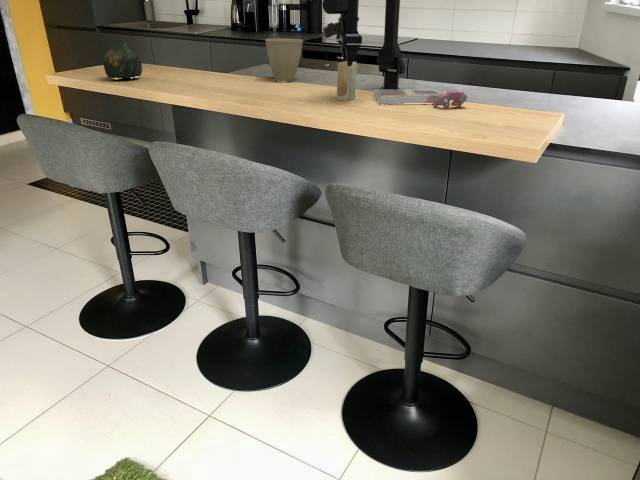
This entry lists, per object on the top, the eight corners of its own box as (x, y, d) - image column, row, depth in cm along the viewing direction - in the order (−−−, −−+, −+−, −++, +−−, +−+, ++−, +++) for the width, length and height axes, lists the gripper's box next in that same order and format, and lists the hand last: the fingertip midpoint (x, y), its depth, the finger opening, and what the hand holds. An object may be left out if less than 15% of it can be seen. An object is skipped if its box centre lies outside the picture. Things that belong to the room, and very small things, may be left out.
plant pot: (301, 84, 205) (301, 41, 198) (264, 83, 205) (263, 40, 198) (303, 78, 218) (303, 38, 211) (268, 77, 219) (267, 37, 212)
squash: (89, 66, 202) (106, 36, 195) (113, 63, 216) (131, 35, 209) (115, 92, 204) (133, 64, 196) (138, 88, 217) (156, 61, 210)
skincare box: (344, 97, 180) (346, 60, 175) (355, 98, 178) (357, 61, 173) (335, 100, 175) (336, 62, 170) (347, 101, 173) (348, 63, 168)
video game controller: (436, 113, 165) (443, 95, 160) (431, 104, 168) (437, 86, 162) (463, 112, 168) (471, 94, 162) (458, 103, 170) (465, 85, 165)
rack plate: (373, 98, 179) (374, 88, 178) (434, 98, 181) (435, 88, 180) (380, 104, 169) (380, 94, 167) (445, 104, 171) (446, 94, 169)
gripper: (321, 12, 173) (320, 61, 179) (327, 14, 156) (326, 68, 163) (354, 12, 174) (352, 61, 180) (363, 15, 157) (361, 68, 164)
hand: (347, 64), depth 172 cm, fingers open, 9 cm apart
